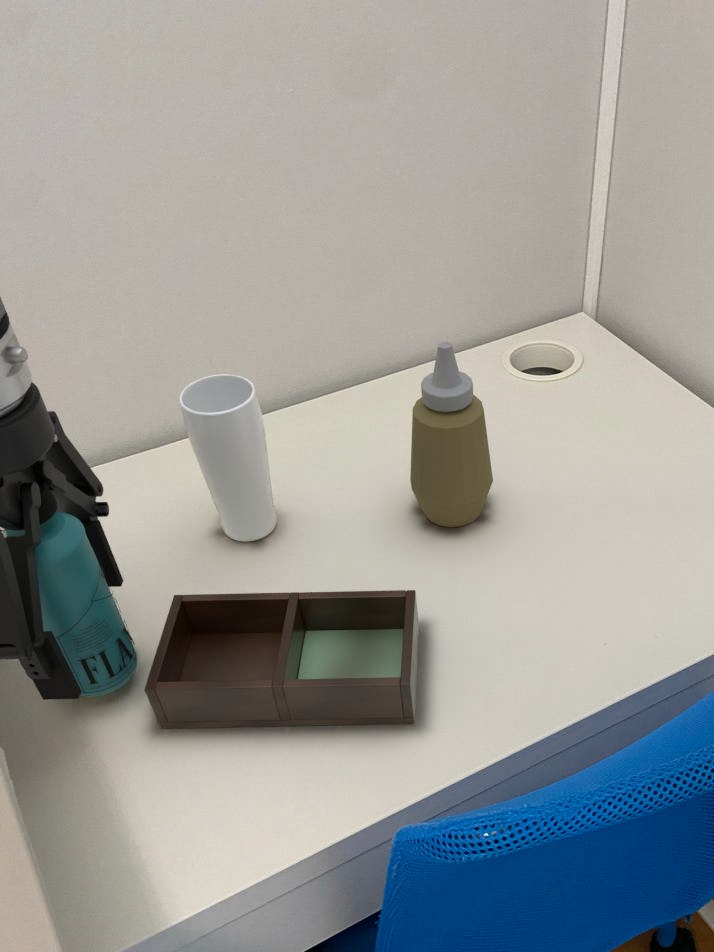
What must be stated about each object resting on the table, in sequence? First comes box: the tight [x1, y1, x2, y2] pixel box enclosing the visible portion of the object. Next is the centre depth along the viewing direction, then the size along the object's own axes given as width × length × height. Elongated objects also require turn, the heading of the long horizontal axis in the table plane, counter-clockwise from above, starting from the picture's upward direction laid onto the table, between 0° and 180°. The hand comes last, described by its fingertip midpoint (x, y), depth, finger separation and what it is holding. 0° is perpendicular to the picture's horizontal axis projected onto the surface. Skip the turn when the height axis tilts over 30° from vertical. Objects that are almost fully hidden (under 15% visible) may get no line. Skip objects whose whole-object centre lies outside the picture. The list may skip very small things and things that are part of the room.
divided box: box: [143, 589, 420, 729], centre depth 77 cm, size 20×11×5 cm, turn 90°
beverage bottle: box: [3, 480, 139, 697], centre depth 72 cm, size 6×7×20 cm
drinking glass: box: [178, 373, 278, 542], centre depth 87 cm, size 7×7×15 cm
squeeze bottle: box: [409, 341, 494, 528], centre depth 87 cm, size 8×8×18 cm
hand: (85, 636), depth 75 cm, fingers open, 12 cm apart
